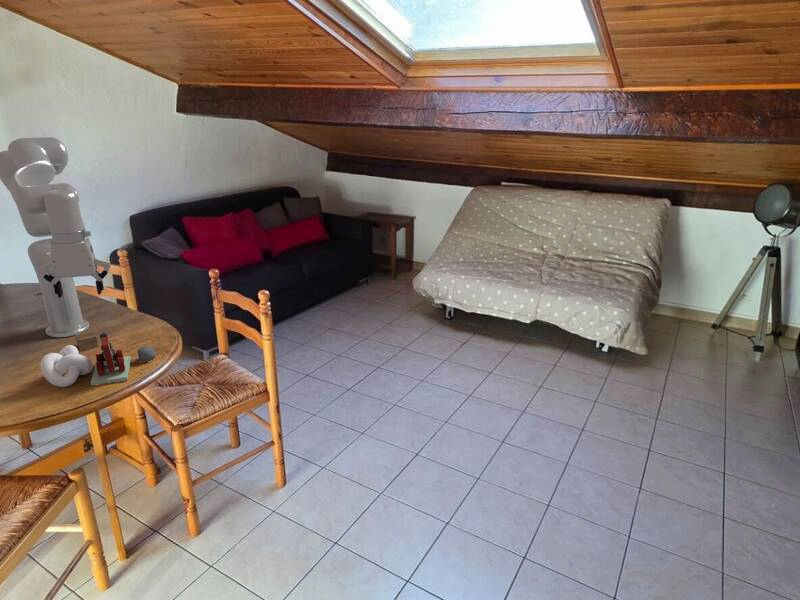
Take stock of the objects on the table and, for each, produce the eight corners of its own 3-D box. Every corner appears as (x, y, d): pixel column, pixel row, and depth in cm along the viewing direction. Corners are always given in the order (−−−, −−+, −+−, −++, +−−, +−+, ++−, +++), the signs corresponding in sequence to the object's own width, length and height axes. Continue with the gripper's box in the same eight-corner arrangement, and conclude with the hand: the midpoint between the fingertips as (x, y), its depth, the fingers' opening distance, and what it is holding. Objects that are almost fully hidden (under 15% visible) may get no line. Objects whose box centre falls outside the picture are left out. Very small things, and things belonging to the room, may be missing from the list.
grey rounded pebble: (140, 357, 158) (138, 347, 157) (155, 355, 159) (154, 345, 158) (138, 363, 154) (136, 353, 153) (154, 362, 156) (152, 352, 154)
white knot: (39, 377, 145) (32, 349, 142) (86, 364, 153) (80, 337, 150) (49, 394, 138) (41, 365, 134) (98, 379, 146) (92, 351, 142)
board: (98, 363, 153) (97, 360, 153) (131, 359, 157) (130, 355, 156) (91, 385, 142) (90, 382, 142) (127, 380, 145) (126, 377, 145)
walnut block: (77, 345, 164) (75, 334, 162) (95, 341, 167) (93, 330, 165) (80, 351, 160) (77, 340, 159) (98, 347, 163) (96, 336, 162)
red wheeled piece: (123, 356, 156) (117, 325, 152) (126, 375, 146) (120, 342, 142) (97, 361, 152) (90, 330, 148) (98, 381, 143) (91, 348, 139)
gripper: (106, 230, 144) (116, 286, 151) (33, 233, 138) (47, 291, 145) (103, 239, 138) (113, 296, 145) (27, 242, 131) (41, 302, 138)
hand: (80, 294), depth 145 cm, fingers open, 9 cm apart
